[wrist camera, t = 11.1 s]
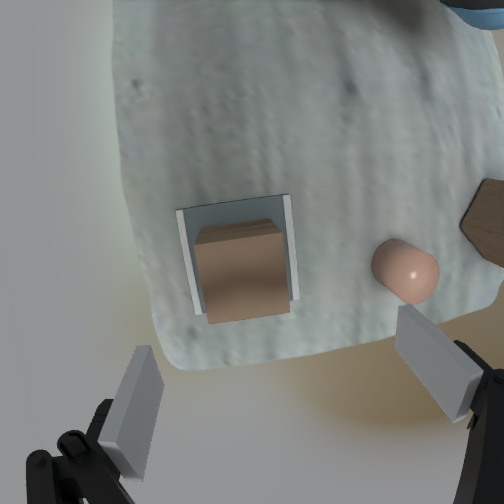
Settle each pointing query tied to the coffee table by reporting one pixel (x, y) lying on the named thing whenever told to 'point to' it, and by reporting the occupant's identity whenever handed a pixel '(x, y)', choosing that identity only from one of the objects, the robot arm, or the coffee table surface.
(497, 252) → the wooden block
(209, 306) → the cube
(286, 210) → the mat
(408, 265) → the pink cylinder
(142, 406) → the robot arm
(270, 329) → the coffee table surface
